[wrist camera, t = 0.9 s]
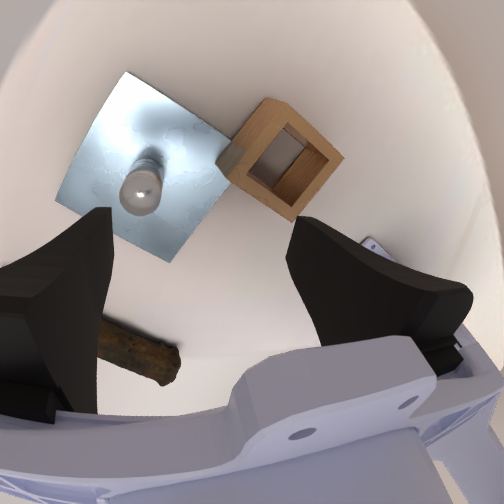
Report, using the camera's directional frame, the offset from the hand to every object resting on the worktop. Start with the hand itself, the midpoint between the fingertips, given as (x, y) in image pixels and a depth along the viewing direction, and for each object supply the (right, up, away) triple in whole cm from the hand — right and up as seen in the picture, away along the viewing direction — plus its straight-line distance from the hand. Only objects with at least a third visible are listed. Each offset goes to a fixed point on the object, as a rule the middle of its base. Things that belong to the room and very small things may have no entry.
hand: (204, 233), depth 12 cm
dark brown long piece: (-14, -7, +14) cm, 21 cm away
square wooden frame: (+3, +6, +8) cm, 11 cm away
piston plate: (-5, +5, +8) cm, 10 cm away
